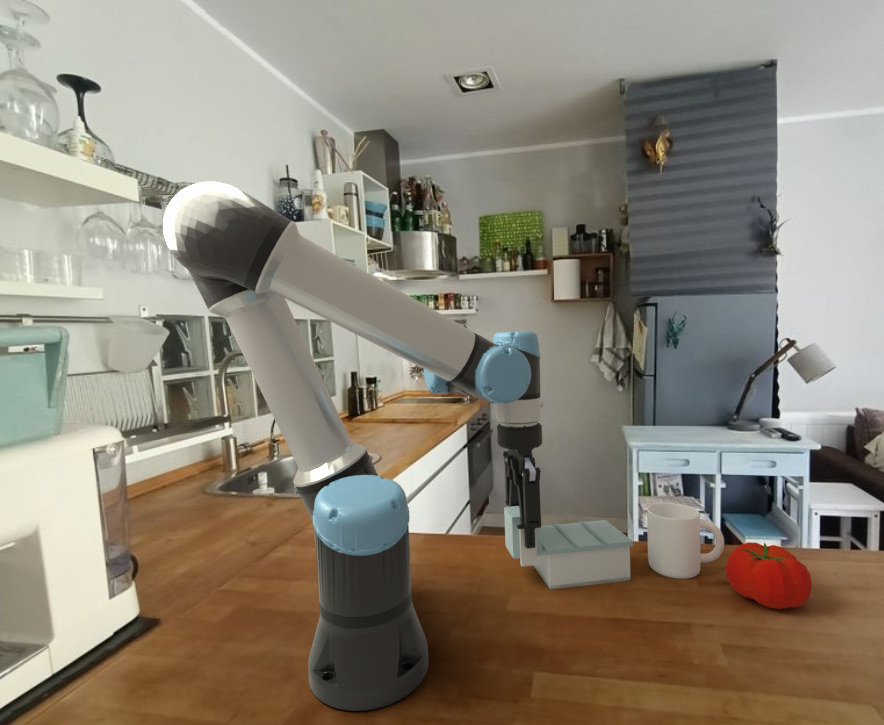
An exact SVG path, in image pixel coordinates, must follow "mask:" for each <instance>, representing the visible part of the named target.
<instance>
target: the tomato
mask: <svg viewBox="0 0 884 725" xmlns="http://www.w3.org/2000/svg"><path fill="white" fill-rule="evenodd" d="M725 573H726V578H727V580H728V582H729V584H730V586H731V588H732V589H733V590H734V591H735V592H736V593H738V594H739V595H740V596H741V597H744V598H748V599H749V600H754V601H755V602H757V603H758V604H760V605H762V606H764V607H767V608H769V609H770V608H771V609H776V610H777V609H778V610H782V609H783V610H784V609H788V608H798V607H801V606H802V605H804V604H805V603H807V601H808V600H809V598H810V597H811V591H812V586H813V581H812V577H811V573H810V571H809V570H808V568H807V566H806V565H804V564H803V563H802V562H801V561H800V560H799V559H797V556H794V555H793V554H792V553H791V552H790V551H788V550H787V549H785V548H784V547H782V546H779V545H776V544H772V545H769V546H767V544H766V542H764V543H763V545H762V544H761V543H759V542H745V543H743V544H740V545H739V546H738V547H736V548H735V549H734V550H733V551H732V552H731V553H730V554H729V555H728V557H727V560H726V564H725Z"/></svg>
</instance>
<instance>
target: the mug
mask: <svg viewBox="0 0 884 725" xmlns="http://www.w3.org/2000/svg"><path fill="white" fill-rule="evenodd" d="M646 518H647V519H646V523H647V524H646V526H647V528H646V529H647V559H648V560H647V561H648V564H649V566H650V568H651V569H652V570H653V571H654V572H656V573H657V574H658V575H661V576H663V577H667V578H670V579H676V580H677V579H679V580H680V579H681V580H687V579H691V578H694V577H697V575H699V574H700V571H701V563H703V564H704V563H711V562H714V561H715V560H717V559H718V558H720V556H721V555H722V554H723V551H724V548H725V538H724V535H723V532H722V531H721V529H720V528H719V527H718V525H716V524H715V523H714V522H712V521H710V520H707V519H704V518H703V519H702V518H701V512H700V511H699V510H697V508H694V507H692V506H689V505H686V504H682V503H676V502H655V503H652V504H649V505H647V507H646ZM701 529H702V530H703V529H704V530H708V531H710V532H711V534H712V535H713V537H714V539H715V540H714V541H715V545H714V547H713V549H712V550H711V551H710V552H707V553H701Z"/></svg>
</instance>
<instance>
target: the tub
mask: <svg viewBox="0 0 884 725" xmlns="http://www.w3.org/2000/svg"><path fill="white" fill-rule="evenodd" d="M630 547H631V546H629V547H619V548H610V549H600V550H590V551H581V552H571V553H562V554H552V555H547V554H546V553H545V551H544V550H543V549H542V554H543V556H537V563H538V565H532V566H533V568H535V570H536V572H537V573H538V574H539V576H540V577H541V579H542V580H543V582H544V583H545V585H546V586H547V588H548V589H549V590H556V589H557V590H558V589H566V588H567V589H568V588H576V587H584V586H592V585H593V586H594V585H601V584H603V585H604V584H611V583H619V582H620V583H621V582H627V581H628V582H630V581H631V550H630Z"/></svg>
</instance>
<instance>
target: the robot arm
mask: <svg viewBox="0 0 884 725" xmlns="http://www.w3.org/2000/svg"><path fill="white" fill-rule="evenodd" d="M162 227H163V228H162V230H163V236H164V239H165V242H166V243H165V244H166V245H167V247H168V249H169V251H170V252H171V254H172V255H173V257H174V258H175V259H176V260H177V261H178V263H179V264H180V265H181V266H182V267H183V268H185V269H186V270H188V273H189V274H190V276H191V278H192V280H193V281H194V284H195V285H196V287H197V290H198V292H199V294H200V296H201V298H202V300H203V302H204V304H205V306H206V309H207V310H208V311H209V312H210V313H211V314H213V315H216V316H218V317H221V318H223V319H224V320H226V322H227V325H228V327H229V329H230V331H231V332H232V334H233V336H234V339H235V341H236V343H237V345H238V347H239V349H240V352H242V355H243V357H244V359H245V361H246V364H247V365H248V367H249V369H250V371H251V374H252V375H253V376H252V377H253V378H254V379H255V382H256V384H257V386H258V388H259V390H260V393H261V395H262V396H263V398H264V400H265V402H266V404H267V406H268V408H269V410H270V412H271V414H272V417H273V419H274V421H275V423H276V425H277V426H278V429H279V431H280V433H281V435H282V437H283V439H284V441H285V443H286V446H287V447H288V449H289V451H290V454H291V456H292V457H293V460H294V462H295V463H296V467H297V471H296V473H295V476H294V479H293V484H294V487H295V489H296V491H297V493H298V495H299V497H300V500H301V501H302V503H303V505H304V507H305V508H306V509H305V510H306V511H307V513H308V515H309V517H310V520H311V523H312V527H313V536H314V543H315V552H316V568H317V587H318V602H319V619H318V622H317V626H316V629H315V633H314V637H313V641H312V645H311V649H310V652H309V656H308V660H307V661H308V663H307V664H308V665H307V668H308V683H309V687H310V690H311V691H312V694H313V695H314V696H315V697H316V698H317V699H318V700H319V701H320V702H322V703H323V704H326V705H327V706H329V707H332V708H334V709H338V710H343V711H344V710H345V711H351V712H353V711H354V712H357V711H358V712H360V711H361V712H362V711H370V710H376V709H381V708H384V707H386V706H389V705H392V704H394V703H396V702H398V701H400V700H402V699H403V698H405V697H407V696H408V695H410V694H411V693H412V692H414V691H415V689H417V688H418V686H419V685H420V684H421V683H422V682H423V680H424V679H425V677H426V675H427V672H428V669H429V646H428V641H427V638H426V635H425V632H424V629H423V628H422V624H421V622H420V620H419V617H418V615H417V612H416V609H415V606H414V604H413V597H412V594H413V593H412V573H411V572H412V571H411V550H410V549H411V548H410V529H409V528H410V526H409V523H410V508H409V506H408V501H407V500H408V499H407V496H406V492H405V490H404V489H403V487H402V486H401V485H400V484H399V483H398V482H396V481H395V480H393V479H391V478H389V477H385V478H383V476H381V475H379V474H378V472H377V470H376V468H375V466H374V464H373V461H372V459H371V456H370V455H369V452H368V450H367V449H366V447H365V446H364V445H363V444H360V443H357V442H354V441H353V440H351V438H350V435H349V433H348V430H347V429H346V426H345V425H344V423H343V420H342V418H341V416H340V415H339V411H338V410H337V408H336V405H335V403H334V401H333V399H332V396H331V395H330V392H329V391H328V388H327V385H326V384H325V381H324V379H323V377H322V375H321V374H320V371H319V369H318V367H317V365H316V362H315V360H314V358H313V356H312V354H311V351H310V349H309V347H308V345H307V342H306V341H305V339H304V337H303V334H302V332H301V330H300V328H299V325H298V324H297V321H296V319H295V317H294V314H293V313H292V310H291V308H290V307H289V305H288V304H289V303H288V302H287V301H290V302H292V303H294V304H296V305H298V306H299V307H302V308H304V309H305V310H308V311H310V312H311V313H313V314H316V315H317V316H319V317H321V318H323V319H325V320H327V321H329V322H331V323H332V324H335V325H337V326H339V327H341V328H343V329H345V330H347V331H349V332H350V333H353V334H355V335H357V336H358V337H360V338H363V339H364V340H366V341H368V342H370V343H372V344H374V345H377V346H378V347H380V348H382V349H384V350H386V351H388V352H389V353H390V352H391V354H394V355H396V356H398V357H400V358H402V359H404V360H406V361H407V362H410V363H411V364H413V365H415V366H417V367H420V368H421V369H423V373H424V374H423V375H424V376H423V377H424V381H425V384H426V388H427V389H428V391H429V392H430V393H431V394H434V395H438V394H439V395H440V394H443V395H449V394H458V393H459V394H462V395H466V396H469V397H474V398H478V399H481V400H485V401H487V402H488V403H491V404H495V418H496V421H497V422H498V424H497V426H496V439H497V440H496V441H497V445H498V446H499V447H500V448H503V449H505V450H504V451H503V453H502V456H503V462H504V486H505V488H504V489H505V505H506V507H511V506H519V509H520V519H521V525H517V528H518V529H519V538H520V558H519V561H520V566H521V567H528V566H529V567H530V566H533V565H538V563H537V534H536V528H541V524H542V513H541V510H542V509H541V487H540V486H541V484H540V483H541V482H540V481H541V468H540V467H536V461H535V460H536V459H535V457H534V456H533V449H535V448H536V449H537V448H539V447H541V446H542V445H543V425H542V424H541V423H540V421H541V420H542V408H543V407H544V402H543V401H542V399H541V369H540V368H541V365H540V361H541V354H540V344H539V343H540V342H539V337H538V335H537V334H536V332H535V331H531V330H528V331H527V330H524V331H507V332H506V331H505V332H504V331H503V332H496V333H495V334H494V335H493V340H492V341H491V340H489V339H487V338H485V337H483V336H482V335H479V334H477V333H475V332H473V330H470V329H469V328H467V327H466V326H464V325H461V323H459V322H457V321H455V320H452V318H449V317H448V316H445V315H444V314H442V313H440V312H438V311H437V310H435V309H433V308H431V307H429V306H428V305H426V304H424V303H423V302H421V301H419V300H417V299H416V298H414V297H412V296H410V295H408V294H406V293H405V292H403V291H401V290H399V289H398V288H396V287H395V286H392V285H390V284H388V283H386V282H385V281H383V280H381V279H379V278H378V277H376V276H374V275H372V274H371V273H369V272H367V271H365V270H363V269H361V268H360V267H358V266H356V265H354V264H353V263H351V262H349V261H347V260H346V259H345V258H341V257H340V256H338V255H337V254H335V253H333V252H331V251H330V250H329V249H325V248H324V247H322V246H321V245H318V244H317V243H315V242H314V241H312V240H310V239H308V238H306V237H304V236H303V235H301V234H300V232H299V229H298V227H297V224H296V222H295V221H293V220H292V219H290V218H288V217H287V216H285V215H283V214H281V213H280V212H278V211H276V210H274V209H273V208H271V207H269V206H267V205H266V204H265V203H263V202H261V201H260V200H258V199H256V198H255V197H253V196H252V195H250V194H248V193H246V192H244V191H243V190H241V189H239V188H237V187H234V186H233V185H230V184H226V183H222V182H217V181H203V182H202V181H201V182H198V183H194V184H192V185H189V186H187V187H185V188H183V189H181V190H179V192H177V194H175V195H174V197H172V199H171V200H170V202H169V203H168V205H167V207H166V209H165V212H164V215H163V223H162ZM209 312H208V313H209Z"/></svg>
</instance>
